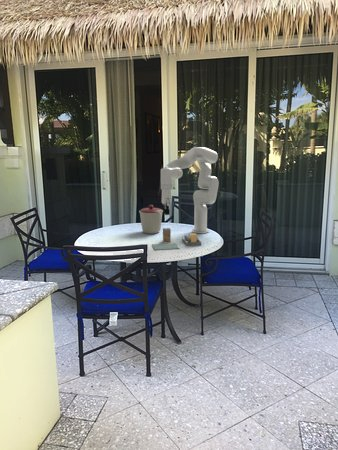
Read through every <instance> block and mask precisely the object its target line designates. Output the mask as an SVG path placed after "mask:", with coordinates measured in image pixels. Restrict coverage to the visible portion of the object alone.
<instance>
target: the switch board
mask: <svg viewBox="0 0 338 450" xmlns="http://www.w3.org/2000/svg"><path fill="white" fill-rule="evenodd" d="M181 241H182V242H183V243H184V244H186V245H185V246H186V247H190V246H192V247H193V246H202V241H201V240H200V239H199V238H198V237H197V242H191V240H190V236H188V235H184V237H182V238H181Z"/></svg>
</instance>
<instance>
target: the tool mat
mask: <svg viewBox="0 0 338 450" xmlns="http://www.w3.org/2000/svg"><path fill="white" fill-rule="evenodd" d="M151 246H152V247H153V250H154V251H163V250H164V251H168V250H180V247H179V245H178V244H177V242H173V243H172V242H169V243H153V244H151Z"/></svg>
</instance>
